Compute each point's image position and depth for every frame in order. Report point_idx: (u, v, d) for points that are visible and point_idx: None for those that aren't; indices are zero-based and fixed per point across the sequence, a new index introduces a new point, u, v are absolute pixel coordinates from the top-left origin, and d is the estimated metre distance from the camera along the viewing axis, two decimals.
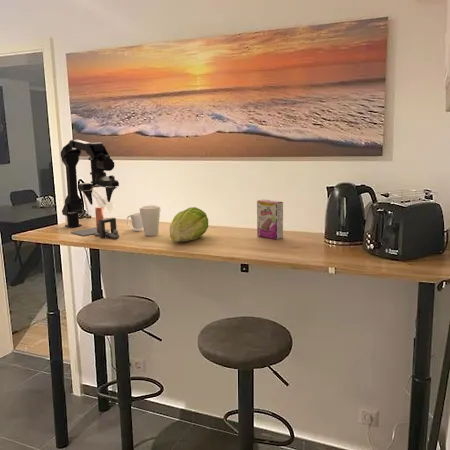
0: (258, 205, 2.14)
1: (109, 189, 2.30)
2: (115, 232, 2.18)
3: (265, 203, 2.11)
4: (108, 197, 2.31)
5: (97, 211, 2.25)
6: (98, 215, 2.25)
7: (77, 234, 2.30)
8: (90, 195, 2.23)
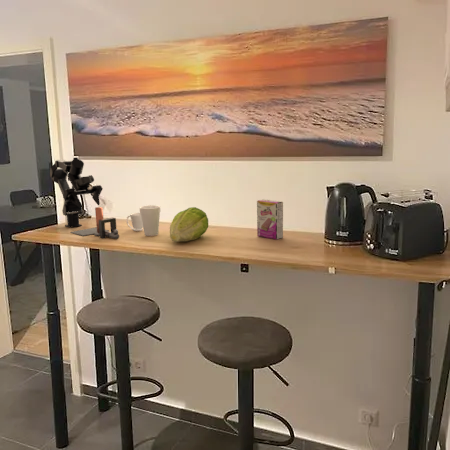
0: (258, 205, 2.14)
1: (95, 194, 2.36)
2: (115, 232, 2.18)
3: (265, 203, 2.11)
4: (97, 200, 2.35)
5: (97, 211, 2.25)
6: (98, 215, 2.25)
7: (77, 234, 2.30)
8: (76, 198, 2.28)
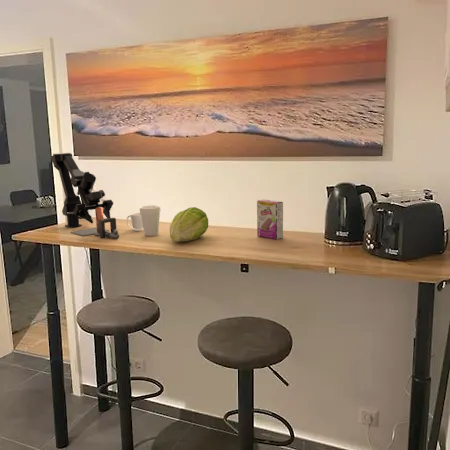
0: (258, 205, 2.14)
1: (105, 208, 2.31)
2: (115, 232, 2.18)
3: (265, 203, 2.11)
4: (107, 216, 2.30)
5: (97, 211, 2.25)
6: (98, 215, 2.25)
7: (77, 234, 2.30)
8: (87, 213, 2.23)
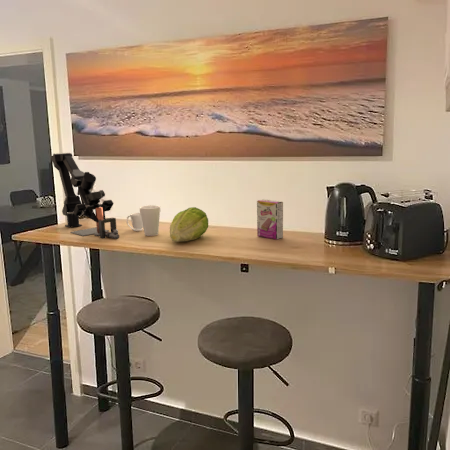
0: (258, 205, 2.14)
1: None
2: (115, 232, 2.18)
3: (265, 203, 2.11)
4: None
5: (97, 211, 2.25)
6: (98, 215, 2.25)
7: (77, 234, 2.30)
8: (93, 213, 2.25)
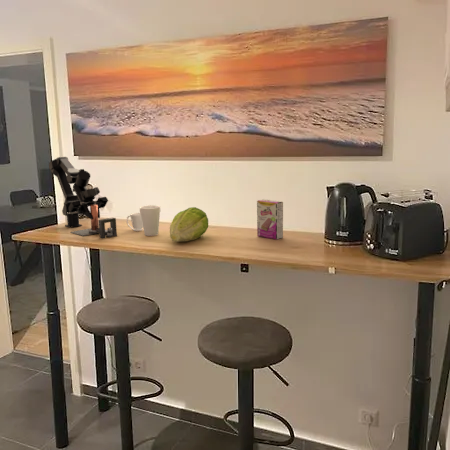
0: (258, 205, 2.14)
1: None
2: (109, 230, 2.22)
3: (265, 203, 2.11)
4: None
5: (92, 208, 2.28)
6: (93, 212, 2.28)
7: (77, 234, 2.30)
8: (87, 210, 2.28)
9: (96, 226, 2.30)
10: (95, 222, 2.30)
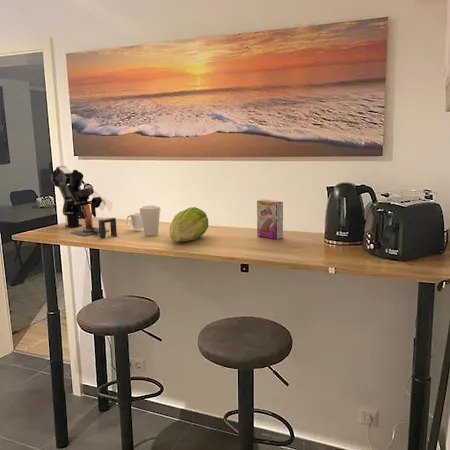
0: (258, 205, 2.14)
1: (91, 206, 2.37)
2: None
3: (265, 203, 2.11)
4: (93, 213, 2.36)
5: (85, 208, 2.32)
6: (87, 212, 2.32)
7: (77, 234, 2.30)
8: (80, 209, 2.31)
9: (90, 225, 2.34)
10: (89, 221, 2.34)
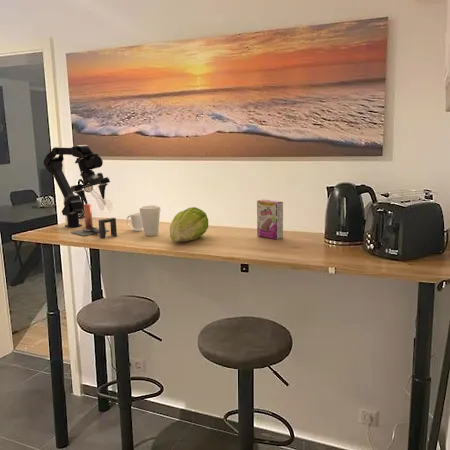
0: (258, 205, 2.14)
1: (101, 187, 2.42)
2: None
3: (265, 203, 2.11)
4: (102, 194, 2.42)
5: (85, 208, 2.32)
6: (87, 212, 2.32)
7: (77, 234, 2.30)
8: (83, 195, 2.35)
9: (90, 225, 2.34)
10: (89, 221, 2.34)
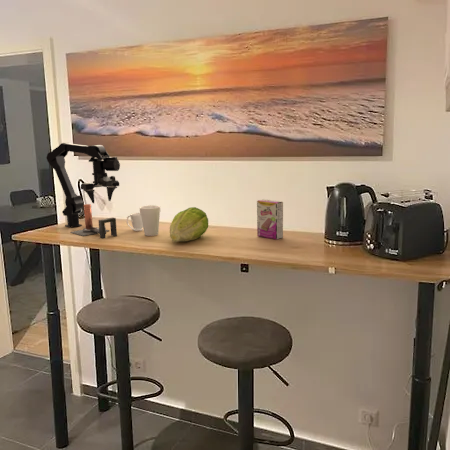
0: (258, 205, 2.14)
1: (110, 189, 2.44)
2: None
3: (265, 203, 2.11)
4: (109, 196, 2.45)
5: (85, 208, 2.32)
6: (87, 212, 2.32)
7: (77, 234, 2.30)
8: (92, 194, 2.37)
9: (90, 225, 2.34)
10: (89, 221, 2.34)
